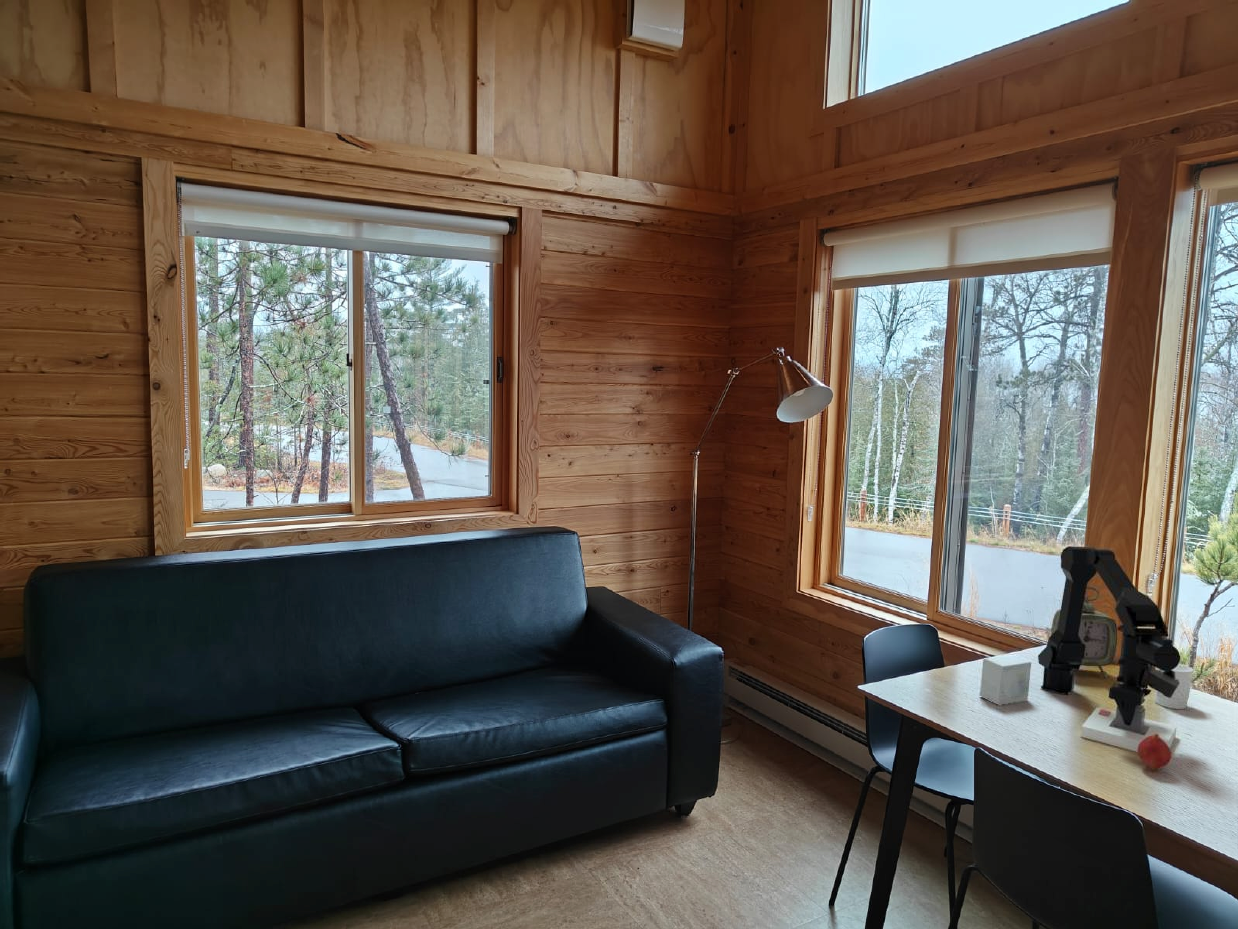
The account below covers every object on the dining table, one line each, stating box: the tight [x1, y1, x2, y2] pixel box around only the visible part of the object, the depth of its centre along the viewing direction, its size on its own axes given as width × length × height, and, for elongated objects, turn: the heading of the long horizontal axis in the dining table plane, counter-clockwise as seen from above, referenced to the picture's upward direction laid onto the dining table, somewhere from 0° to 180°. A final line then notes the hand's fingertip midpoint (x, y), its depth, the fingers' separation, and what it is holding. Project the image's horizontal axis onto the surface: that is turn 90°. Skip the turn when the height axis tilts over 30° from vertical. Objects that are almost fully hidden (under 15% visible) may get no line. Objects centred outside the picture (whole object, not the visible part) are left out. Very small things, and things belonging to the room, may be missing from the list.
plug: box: [1115, 705, 1146, 732], centre depth 185 cm, size 5×4×5 cm
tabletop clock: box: [1050, 585, 1118, 678], centre depth 229 cm, size 14×9×25 cm, turn 82°
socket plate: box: [1080, 707, 1177, 753], centre depth 186 cm, size 16×16×3 cm
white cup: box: [1154, 662, 1194, 710], centre depth 207 cm, size 8×8×10 cm
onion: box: [1137, 733, 1172, 771], centre depth 169 cm, size 6×6×8 cm
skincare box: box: [979, 654, 1032, 706], centre depth 207 cm, size 10×6×10 cm, turn 114°
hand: (1129, 722), depth 186 cm, fingers closed on plug, 4 cm apart
